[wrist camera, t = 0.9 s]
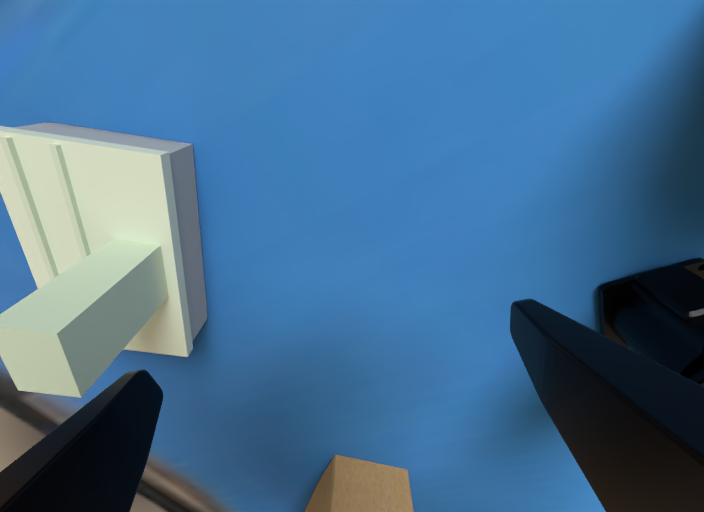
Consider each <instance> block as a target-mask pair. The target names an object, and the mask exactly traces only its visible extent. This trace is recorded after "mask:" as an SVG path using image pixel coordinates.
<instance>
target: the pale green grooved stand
mask: <svg viewBox="0 0 704 512" xmlns="http://www.w3.org/2000/svg"><path fill="white" fill-rule="evenodd" d="M0 192H1V194H2V197H3V200H4V202H5V205H6V207H7V210H8V212H9V215H10V218H11V220H12V223H13V225H14V228H15V230H16V233H17V236H18V238H19V241H20V243H21V246H22V248H23V251H24V254H25V256H26V259H27V261H28V264H29V266H30V269H31V272H32V274H33V277H34V279H35V282H36V285H37V287H38V289H37V290H36V291H34V292H33V293H31V294H30V295H28V296H27V297H25V298H24V299H22V300H21V301H19V302H18V303H16V304H15V305H13V306H12V307H10V308H9V309H7V310H6V311H4V312H3V313H1V314H0V356H1V358H2V360H3V362H4V364H5V366H6V368H7V370H8V371H9V373H10V375H11V377H12V379H13V381H14V383H15V385H16V387H17V389H18V390H20V391H29V392H37V393H46V394H55V395H63V396H72V397H82V396H83V395H84V394H85V393H86V392H87V391H88V389H89V388H90V387H91V386H92V385H93V384H94V382H95V381H96V380H97V379H98V378H99V377H100V376H101V374H102V373H103V372H104V371H105V370H106V369H107V367H108V366H109V365H110V364H111V363H112V362H113V360H114V359H115V358H116V357H117V356H118V355H119V354H120V352H121V351H122V350H123V349H125V350H133V351H141V352H150V353H158V354H166V355H174V356H182V357H188V356H189V354H190V353H191V351H192V349H193V344H192V335H191V327H190V319H189V311H188V303H187V294H186V286H185V278H184V270H183V262H182V253H181V245H180V237H179V229H178V220H177V212H176V204H175V196H174V188H173V179H172V171H171V163H170V155H169V152H167V151H161V150H154V149H147V148H141V147H134V146H128V145H121V144H115V143H108V142H101V141H95V140H88V139H82V138H75V137H69V136H62V135H55V134H49V133H42V132H36V131H29V130H23V129H16V128H9V127H3V126H0Z"/></svg>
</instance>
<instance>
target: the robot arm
mask: <svg viewBox="0 0 704 512" xmlns="http://www.w3.org/2000/svg"><path fill="white" fill-rule="evenodd" d="M608 290H609V291H608ZM599 301H600V322H601V334H600V333H598V332H596V331H594V330H592V329H590V328H588V327H586V326H584V325H582V324H580V323H578V322H576V321H574V320H572V319H570V318H568V317H566V316H564V315H562V314H561V313H559V312H557V311H555V310H553V309H551V308H549V307H547V306H545V305H543V304H541V303H539V302H537V301H535V300H533V299H525V300H519V301H515V302H513V303H512V305H511V316H510V332H511V336H512V338H513V341H514V343H515V345H516V347H517V350H518V352H519V354H520V356H521V358H522V361H523V363H524V365H525V367H526V369H527V372H528V374H529V376H530V378H531V381H532V383H533V385H534V387H535V389H536V391H537V394H538V396H539V398H540V400H541V402H542V403H543V405H544V407H545V409H546V411H547V412H548V414H549V416H550V417H551V419H552V421H553V422H554V424H555V426H556V428H557V429H558V431H559V433H560V434H561V436H562V438H563V439H564V441H565V443H566V445H567V446H568V448H569V450H570V451H571V453H572V455H573V456H574V458H575V460H576V462H577V463H578V465H579V467H580V468H581V470H582V472H583V473H584V475H585V477H586V479H587V480H588V482H589V484H590V485H591V487H592V489H593V490H594V492H595V494H596V496H597V497H598V499H599V501H600V502H601V504H602V506H603V507H604V509H605V511H606V512H704V258H697V259H693V260H689V261H686V262H682V263H678V264H675V265H671V266H667V267H664V268H660V269H656V270H653V271H649V272H645V273H642V274H638V275H634V276H631V277H627V278H623V279H620V280H616V281H612V282H608V283H605V284H603V285H602V286H601V287H600V289H599ZM629 348H630V349H629ZM162 401H163V392H162V389H161V388H160V386H159V385H158V384H157V383H156V381H155V380H154V379H153V377H152V376H151V375H150V374H149V372H147V371H146V370H137V371H131V372H128V373H126V374H124V375H123V376H122V377H120V378H119V379H118V380H117V381H115V382H114V383H113V384H111V385H110V386H109V387H108V388H106V389H105V390H104V391H103V392H101V393H100V394H99V395H98V396H96V397H95V398H94V399H92V400H91V401H90V402H89V403H87V404H86V405H85V406H84V407H82V408H81V409H80V410H79V411H77V412H76V413H75V414H73V415H72V416H71V417H70V418H68V419H67V420H66V421H65V422H63V423H62V424H61V425H60V426H58V427H57V428H56V429H55V430H53V431H52V432H51V433H49V434H48V435H47V436H46V437H44V438H43V439H42V440H41V441H39V442H38V443H37V444H36V445H34V446H33V447H32V448H31V449H29V450H28V451H27V452H25V453H24V454H23V455H22V456H21V457H19V458H18V459H17V460H15V461H14V462H13V463H12V464H10V465H9V466H8V467H6V468H5V469H4V470H3V471H1V472H0V512H130V509H131V506H132V503H133V500H134V497H135V495H136V492H137V489H138V486H139V483H140V480H141V478H142V475H143V472H144V469H145V466H146V463H147V459H148V456H149V452H150V448H151V444H152V440H153V436H154V433H155V429H156V425H157V421H158V417H159V413H160V409H161V405H162Z"/></svg>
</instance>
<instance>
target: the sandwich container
mask: <svg viewBox="0 0 704 512" xmlns="http://www.w3.org/2000/svg"><path fill="white" fill-rule="evenodd" d="M304 512H413V505H412V498H411V490H410V483H409V476H408V470H407V469H402V468H397V467H393V466H388V465H383V464H379V463H374V462H369V461H364V460H360V459H355V458H350V457H345V456H341V455H334V457H333V458H332V460H331V462H330V464H329V465H328V467H327V469H326V470H325V472H324V474H323V475H322V477H321V479H320V481H319V482H318V484H317V486H316V488H315V490H314V493H313V495H312V497H311V499H310V501H309V503H308V505H307V507H306V509H305V511H304Z"/></svg>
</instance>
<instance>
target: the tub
mask: <svg viewBox="0 0 704 512" xmlns="http://www.w3.org/2000/svg"><path fill="white" fill-rule="evenodd" d="M14 128H16V129H23V130H29V131H36V132H42V133H49V134H55V135H62V136H69V137H75V138H82V139H88V140H95V141H101V142H108V143H115V144H121V145H128V146H134V147H141V148H147V149H154V150H161V151H167V152H169V155H170V163H171V171H172V179H173V188H174V196H175V204H176V212H177V220H178V229H179V237H180V245H181V253H182V262H183V270H184V278H185V286H186V294H187V303H188V311H189V319H190V327H191V335H192V342H193V340H194V339H195V337H196V335H197V334H198V332H199V331H200V329H201V328H202V326H203V324H204V323H205V321H206V320H207V318H208V316H207V304H206V292H205V281H204V269H203V258H202V246H201V235H200V223H199V212H198V200H197V189H196V177H195V166H194V154H193V144H189V143H183V142H176V141H170V140H163V139H157V138H150V137H144V136H137V135H131V134H124V133H118V132H111V131H105V130H98V129H92V128H85V127H79V126H72V125H66V124H59V123H53V122H46V123H40V124H33V125H27V126H20V127H14Z"/></svg>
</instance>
